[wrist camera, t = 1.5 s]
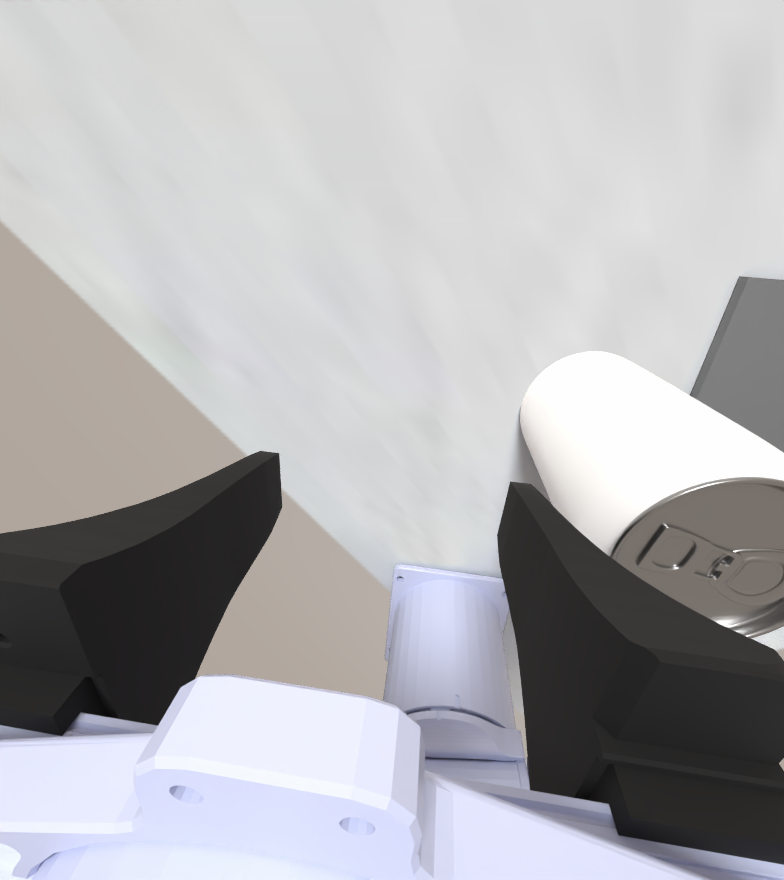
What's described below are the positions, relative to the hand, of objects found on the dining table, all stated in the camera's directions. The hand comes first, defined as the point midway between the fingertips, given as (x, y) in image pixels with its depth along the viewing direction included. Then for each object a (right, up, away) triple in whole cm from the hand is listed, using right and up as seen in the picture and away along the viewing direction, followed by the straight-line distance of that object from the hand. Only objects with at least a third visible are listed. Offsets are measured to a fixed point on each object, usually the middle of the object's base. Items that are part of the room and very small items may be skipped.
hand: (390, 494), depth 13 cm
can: (+10, +3, +9) cm, 14 cm away
